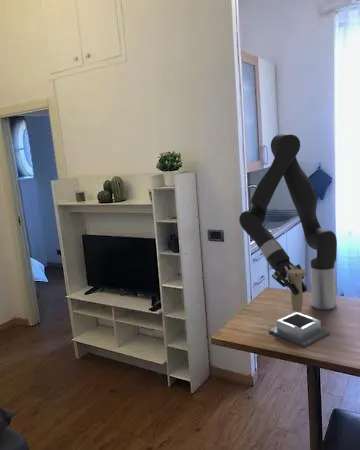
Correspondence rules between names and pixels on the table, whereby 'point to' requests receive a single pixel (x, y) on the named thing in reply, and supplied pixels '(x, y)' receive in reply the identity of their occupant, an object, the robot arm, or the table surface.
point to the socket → (299, 329)
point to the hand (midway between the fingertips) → (301, 292)
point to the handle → (296, 279)
